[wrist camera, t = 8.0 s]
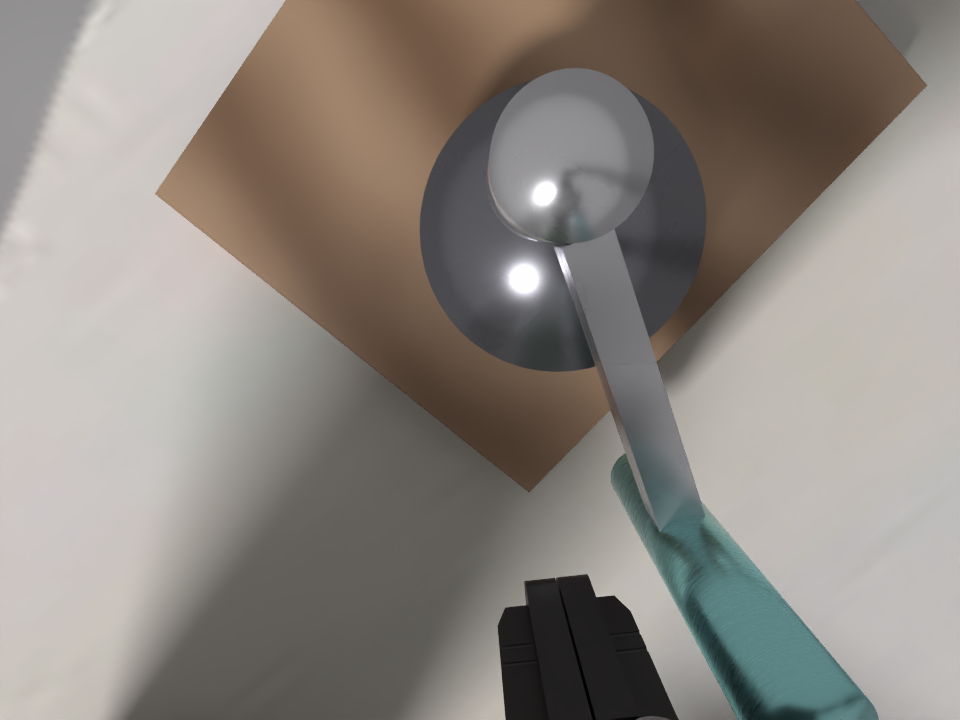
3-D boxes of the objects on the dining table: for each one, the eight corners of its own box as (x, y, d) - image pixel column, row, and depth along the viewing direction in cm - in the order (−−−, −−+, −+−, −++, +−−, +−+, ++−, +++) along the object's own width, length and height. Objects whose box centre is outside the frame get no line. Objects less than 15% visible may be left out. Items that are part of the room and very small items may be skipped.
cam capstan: (385, 158, 15) (227, 24, 6) (635, 51, 15) (946, -311, 5) (535, 522, 18) (602, 844, 9) (747, 448, 18) (1075, 706, 8)
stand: (542, -310, 14) (618, -946, 7) (888, 90, 17) (1232, -32, 9) (190, 198, 18) (-33, 169, 10) (524, 467, 20) (552, 611, 13)
